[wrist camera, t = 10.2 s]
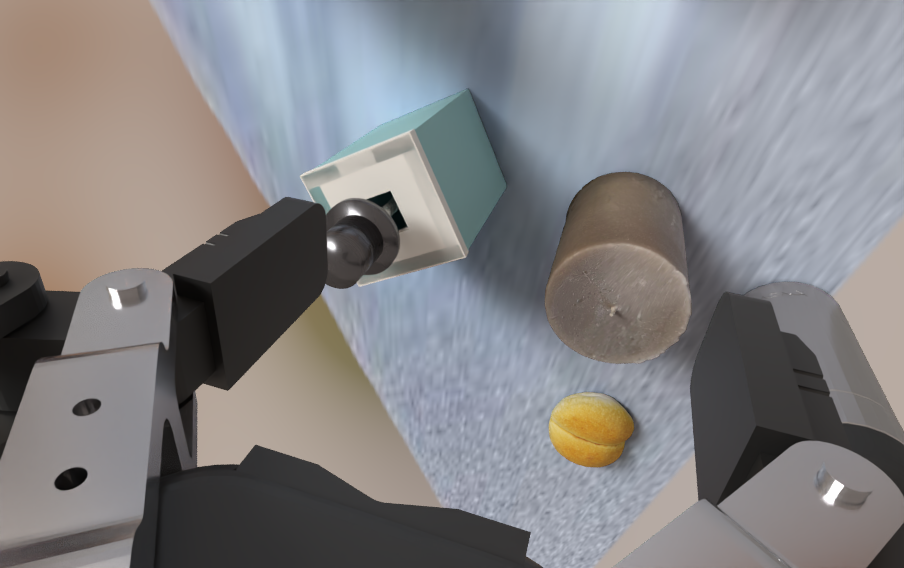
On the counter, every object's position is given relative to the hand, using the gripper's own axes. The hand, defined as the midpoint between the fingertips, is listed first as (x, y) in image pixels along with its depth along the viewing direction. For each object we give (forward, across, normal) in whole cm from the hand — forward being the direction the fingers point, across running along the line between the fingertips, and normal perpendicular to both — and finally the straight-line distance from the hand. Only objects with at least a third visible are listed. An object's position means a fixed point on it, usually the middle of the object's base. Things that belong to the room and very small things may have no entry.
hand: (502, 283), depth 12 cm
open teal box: (+38, +14, +12) cm, 42 cm away
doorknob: (+35, +13, +12) cm, 39 cm away
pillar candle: (+38, -4, +15) cm, 41 cm away
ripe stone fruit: (+38, -6, +38) cm, 54 cm away
